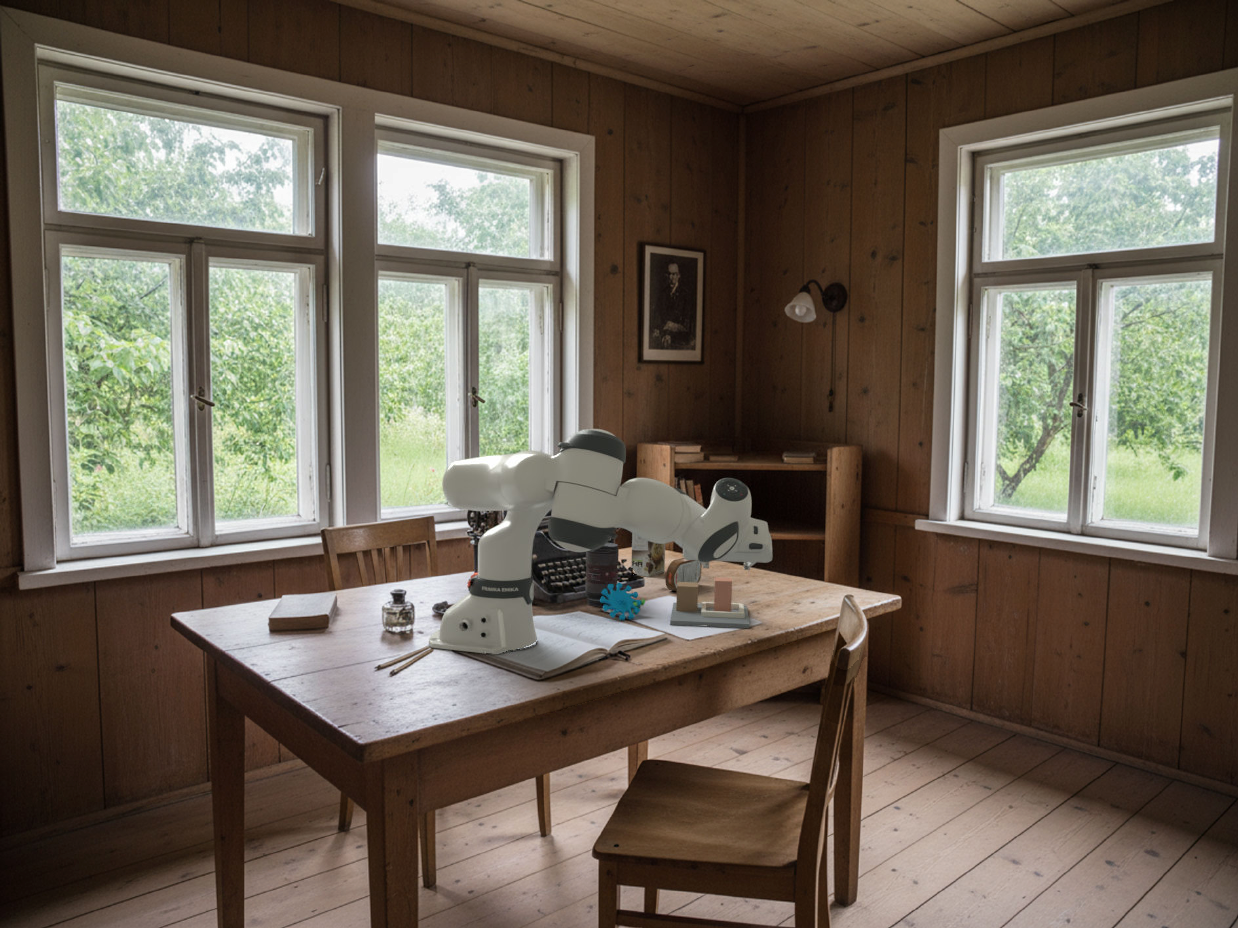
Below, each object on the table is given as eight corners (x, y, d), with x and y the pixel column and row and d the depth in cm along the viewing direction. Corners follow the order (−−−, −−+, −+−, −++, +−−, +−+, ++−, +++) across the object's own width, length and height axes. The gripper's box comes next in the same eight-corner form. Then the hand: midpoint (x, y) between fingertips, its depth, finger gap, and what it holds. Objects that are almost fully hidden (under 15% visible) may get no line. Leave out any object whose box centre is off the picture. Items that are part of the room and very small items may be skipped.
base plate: (670, 624, 214) (670, 594, 213) (673, 606, 231) (674, 578, 231) (749, 628, 212) (750, 598, 211) (746, 609, 230) (747, 581, 229)
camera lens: (621, 606, 231) (623, 546, 229) (590, 608, 228) (591, 547, 227) (611, 598, 238) (612, 540, 237) (581, 600, 236) (582, 541, 234)
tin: (693, 583, 259) (694, 553, 258) (703, 585, 257) (704, 555, 257) (663, 593, 247) (664, 561, 246) (673, 594, 245) (674, 563, 244)
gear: (602, 615, 214) (600, 578, 221) (595, 628, 219) (593, 592, 225) (648, 619, 217) (644, 583, 224) (640, 632, 221) (637, 597, 228)
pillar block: (713, 614, 220) (714, 580, 220) (713, 610, 224) (714, 577, 224) (731, 614, 220) (732, 581, 219) (730, 610, 224) (731, 577, 223)
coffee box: (649, 577, 266) (650, 521, 265) (630, 574, 270) (631, 519, 269) (665, 572, 274) (666, 517, 273) (646, 569, 278) (648, 515, 276)
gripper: (681, 542, 205) (680, 576, 215) (775, 545, 203) (770, 579, 214) (681, 519, 209) (681, 553, 219) (774, 522, 207) (769, 556, 218)
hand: (726, 566), depth 216 cm, fingers open, 8 cm apart
